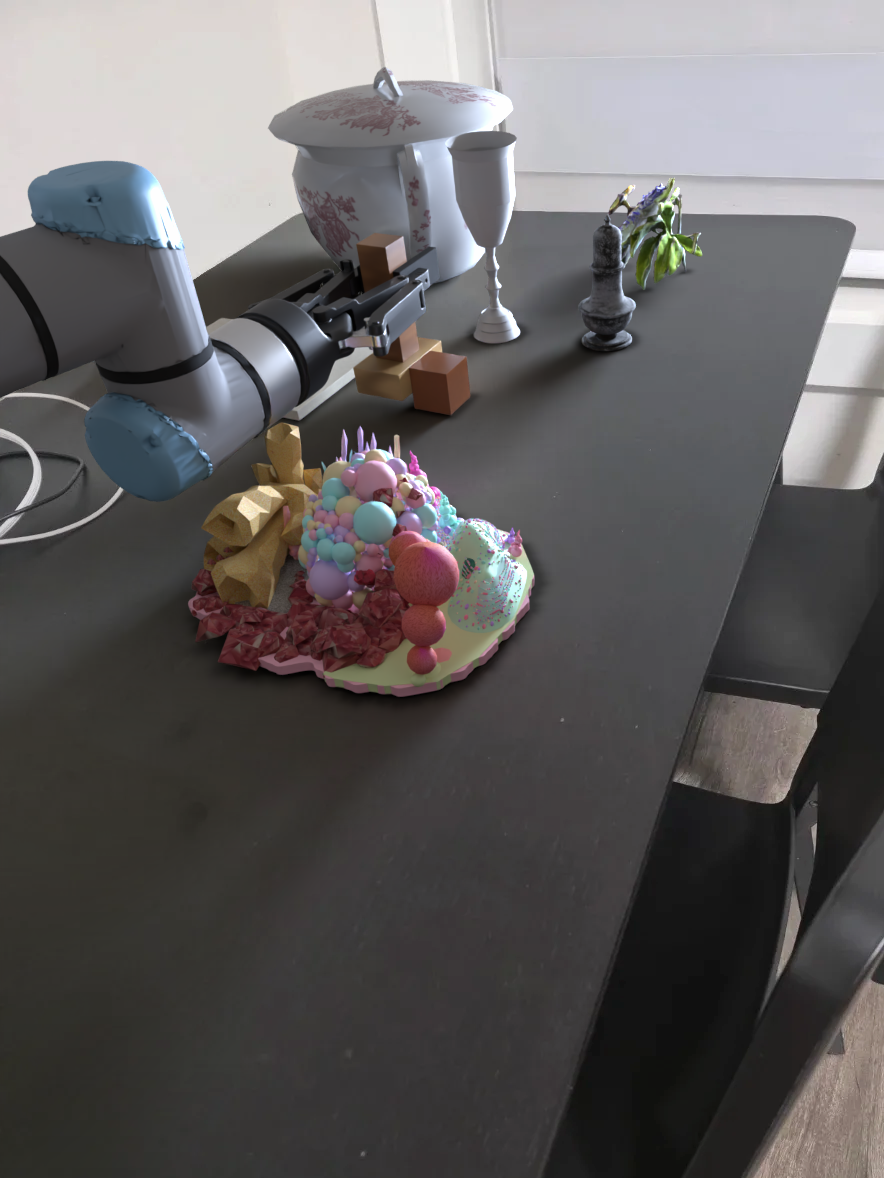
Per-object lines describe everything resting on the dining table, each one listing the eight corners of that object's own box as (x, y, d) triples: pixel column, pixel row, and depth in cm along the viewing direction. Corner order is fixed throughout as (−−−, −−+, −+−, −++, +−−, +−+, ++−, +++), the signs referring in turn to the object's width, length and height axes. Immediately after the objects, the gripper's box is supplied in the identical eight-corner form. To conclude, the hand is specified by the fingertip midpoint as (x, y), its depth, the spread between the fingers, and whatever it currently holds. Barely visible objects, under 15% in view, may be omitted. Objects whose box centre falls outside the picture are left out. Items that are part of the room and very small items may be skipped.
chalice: (465, 322, 100) (445, 133, 87) (526, 317, 100) (514, 128, 87) (466, 349, 94) (444, 153, 82) (530, 344, 95) (518, 148, 82)
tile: (125, 386, 92) (121, 377, 92) (224, 326, 102) (221, 317, 102) (299, 420, 85) (296, 411, 84) (387, 352, 95) (386, 342, 94)
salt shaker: (573, 350, 93) (570, 224, 84) (585, 327, 97) (583, 204, 88) (629, 353, 92) (632, 225, 83) (639, 330, 96) (642, 205, 87)
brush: (357, 393, 85) (329, 252, 76) (401, 358, 90) (379, 222, 81) (402, 401, 84) (379, 258, 75) (444, 365, 88) (427, 227, 80)
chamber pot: (381, 223, 125) (352, 40, 110) (559, 243, 116) (552, 46, 101) (254, 297, 108) (199, 91, 93) (451, 327, 99) (424, 104, 84)
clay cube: (414, 408, 86) (408, 367, 83) (435, 390, 88) (429, 350, 85) (451, 415, 84) (446, 374, 82) (470, 396, 87) (466, 356, 84)
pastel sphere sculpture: (138, 670, 61) (82, 558, 54) (278, 487, 77) (248, 383, 70) (493, 712, 56) (479, 595, 50) (564, 508, 72) (560, 399, 66)
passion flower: (622, 313, 113) (613, 211, 111) (709, 297, 110) (702, 191, 108) (605, 289, 102) (595, 175, 100) (702, 270, 99) (693, 152, 97)
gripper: (198, 395, 74) (353, 292, 89) (361, 427, 69) (497, 311, 84) (167, 303, 69) (337, 208, 84) (341, 329, 64) (490, 224, 78)
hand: (417, 260), depth 84 cm, fingers closed on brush, 3 cm apart
